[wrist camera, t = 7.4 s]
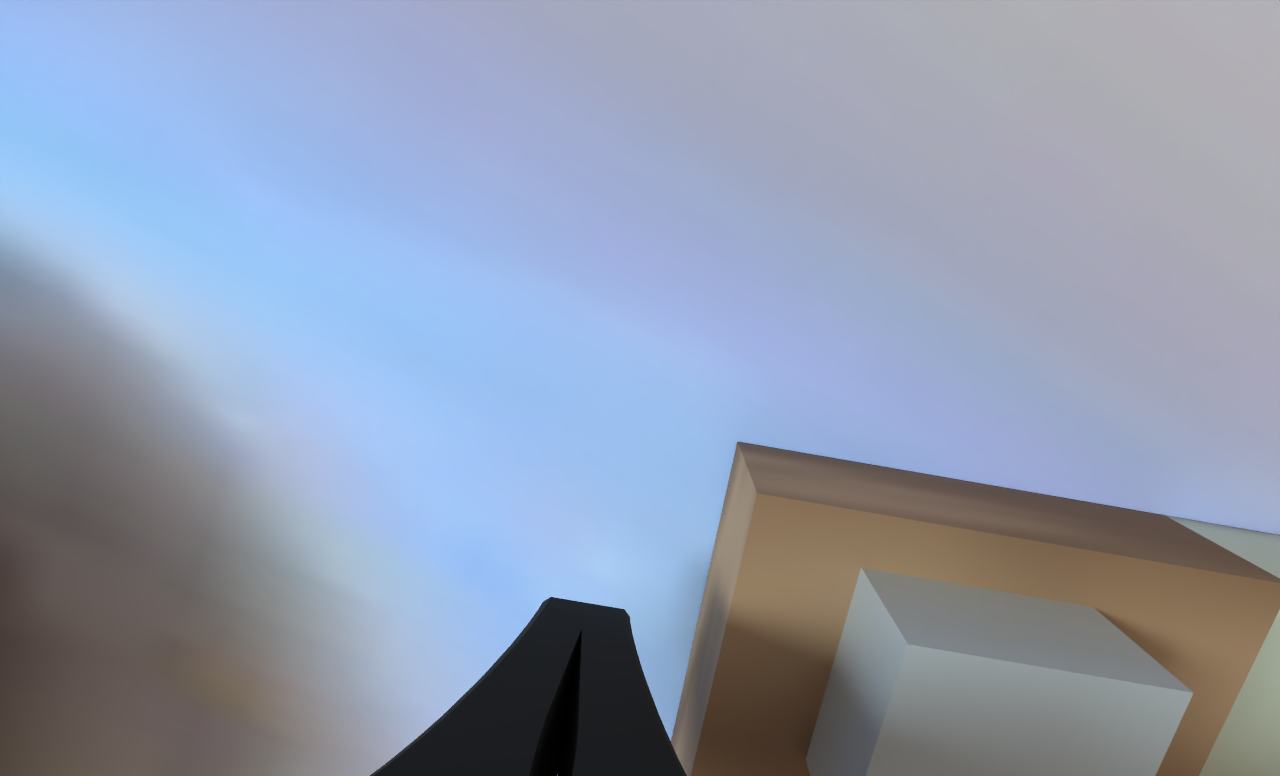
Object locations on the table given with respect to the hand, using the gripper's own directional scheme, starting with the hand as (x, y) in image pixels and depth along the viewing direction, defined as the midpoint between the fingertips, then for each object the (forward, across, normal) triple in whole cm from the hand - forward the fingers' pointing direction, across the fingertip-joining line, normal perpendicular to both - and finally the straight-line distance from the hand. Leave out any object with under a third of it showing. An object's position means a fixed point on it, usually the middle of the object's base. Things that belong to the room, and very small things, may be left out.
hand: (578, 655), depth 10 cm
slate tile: (+1, -6, 0) cm, 6 cm away
